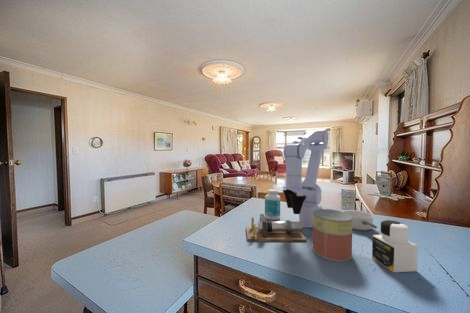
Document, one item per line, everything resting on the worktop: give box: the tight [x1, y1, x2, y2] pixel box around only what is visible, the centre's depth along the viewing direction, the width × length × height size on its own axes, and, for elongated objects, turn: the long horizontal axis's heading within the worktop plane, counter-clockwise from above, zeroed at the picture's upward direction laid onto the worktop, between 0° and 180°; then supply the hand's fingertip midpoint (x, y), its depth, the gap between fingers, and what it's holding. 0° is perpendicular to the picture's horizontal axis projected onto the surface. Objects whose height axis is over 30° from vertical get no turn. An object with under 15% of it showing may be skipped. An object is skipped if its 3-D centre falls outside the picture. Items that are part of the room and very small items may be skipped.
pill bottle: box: [264, 188, 281, 221], centre depth 92 cm, size 8×7×14 cm
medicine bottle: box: [371, 219, 419, 273], centre depth 54 cm, size 7×7×12 cm
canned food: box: [312, 208, 353, 262], centre depth 61 cm, size 11×11×12 cm
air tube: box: [257, 219, 303, 233], centre depth 73 cm, size 16×5×5 cm, turn 90°
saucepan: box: [342, 209, 378, 231], centre depth 78 cm, size 12×20×6 cm, turn 169°
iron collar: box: [259, 213, 268, 237], centre depth 73 cm, size 2×8×6 cm, turn 0°
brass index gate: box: [249, 216, 257, 237], centre depth 73 cm, size 2×9×5 cm, turn 0°
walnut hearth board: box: [245, 226, 308, 243], centre depth 73 cm, size 21×11×1 cm, turn 90°
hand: (293, 210), depth 73 cm, fingers open, 7 cm apart
